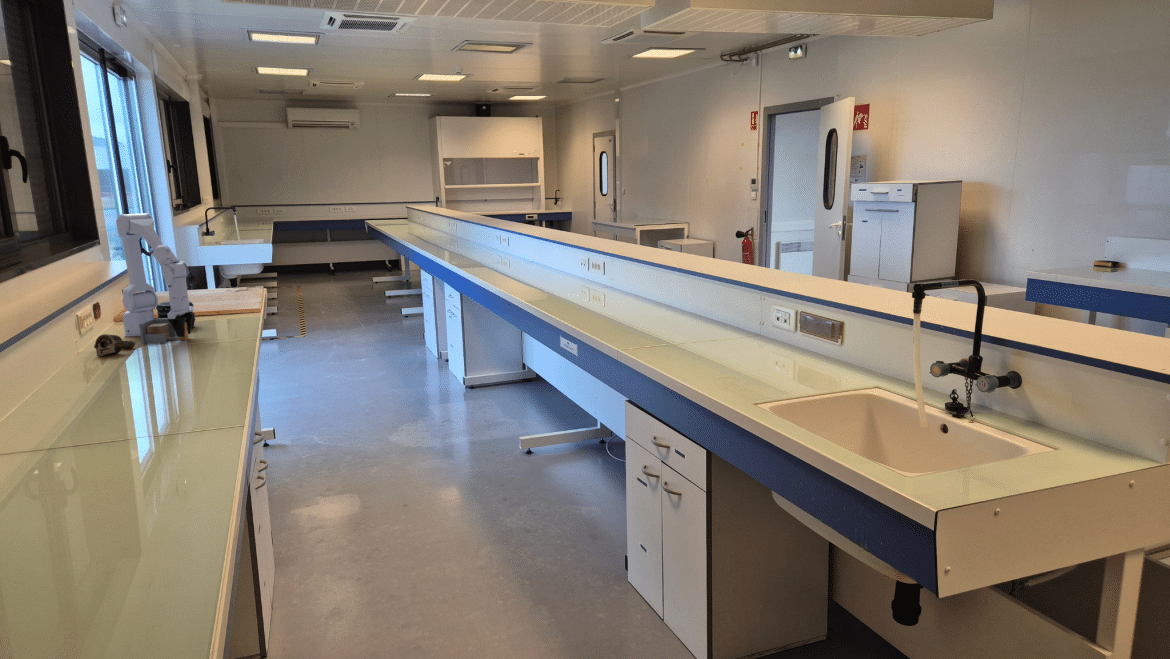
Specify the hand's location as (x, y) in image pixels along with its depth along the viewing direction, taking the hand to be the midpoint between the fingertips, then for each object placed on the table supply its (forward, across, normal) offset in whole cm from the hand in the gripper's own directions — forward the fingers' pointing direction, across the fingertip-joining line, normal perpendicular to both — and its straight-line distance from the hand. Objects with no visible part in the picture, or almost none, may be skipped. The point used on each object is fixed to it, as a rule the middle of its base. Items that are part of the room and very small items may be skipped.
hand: (183, 335), depth 258 cm
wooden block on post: (+1, 0, +5) cm, 5 cm away
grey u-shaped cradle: (+2, 0, +8) cm, 9 cm away
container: (+2, +22, +12) cm, 25 cm away
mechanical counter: (+2, -17, +13) cm, 22 cm away
